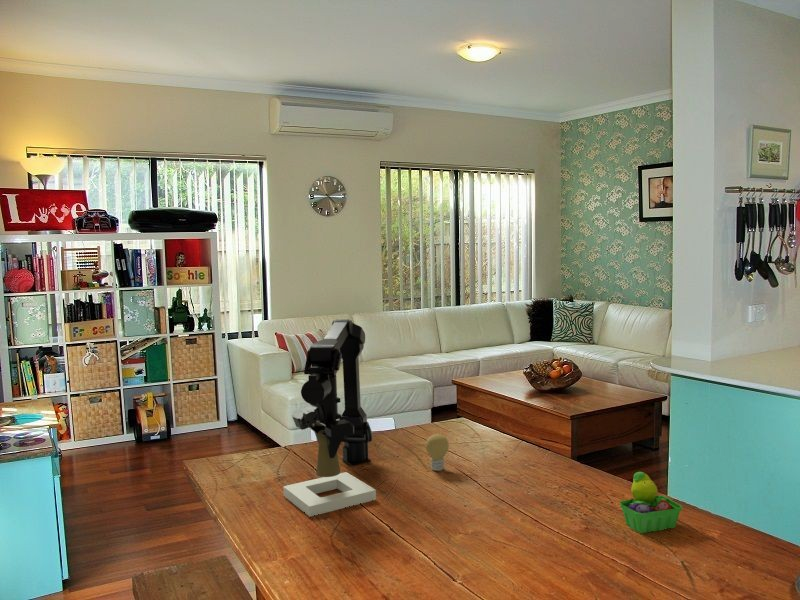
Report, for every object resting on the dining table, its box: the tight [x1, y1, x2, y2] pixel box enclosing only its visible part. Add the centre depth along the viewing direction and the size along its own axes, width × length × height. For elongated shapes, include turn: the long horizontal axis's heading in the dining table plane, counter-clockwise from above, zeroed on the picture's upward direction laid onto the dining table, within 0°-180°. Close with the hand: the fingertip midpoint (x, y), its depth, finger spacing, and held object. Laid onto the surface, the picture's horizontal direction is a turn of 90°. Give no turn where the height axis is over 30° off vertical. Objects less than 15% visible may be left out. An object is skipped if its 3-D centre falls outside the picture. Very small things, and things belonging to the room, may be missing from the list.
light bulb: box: [425, 433, 450, 472], centre depth 188 cm, size 6×6×10 cm
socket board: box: [282, 471, 377, 518], centre depth 170 cm, size 18×16×2 cm
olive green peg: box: [316, 429, 341, 478], centre depth 169 cm, size 6×6×11 cm
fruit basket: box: [619, 471, 683, 534], centre depth 149 cm, size 11×9×11 cm
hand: (327, 455), depth 169 cm, fingers closed on olive green peg, 4 cm apart
